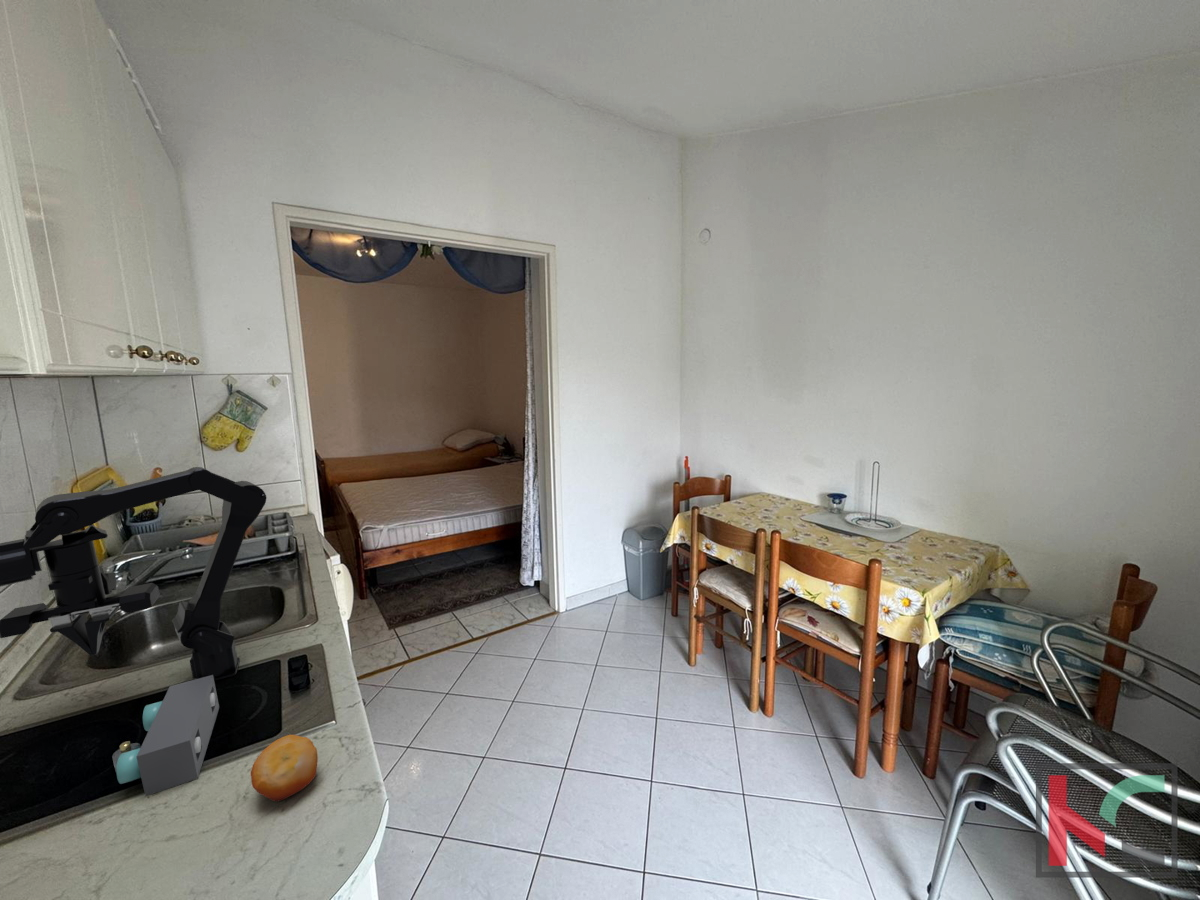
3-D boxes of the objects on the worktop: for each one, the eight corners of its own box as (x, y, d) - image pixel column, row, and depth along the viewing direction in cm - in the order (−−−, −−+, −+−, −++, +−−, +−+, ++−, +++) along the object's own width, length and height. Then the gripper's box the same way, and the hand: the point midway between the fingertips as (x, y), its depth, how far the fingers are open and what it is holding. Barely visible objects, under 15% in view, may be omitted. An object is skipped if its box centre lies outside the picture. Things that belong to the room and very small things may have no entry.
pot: (146, 753, 80) (141, 733, 79) (140, 767, 77) (135, 746, 76) (119, 762, 78) (114, 741, 77) (112, 776, 75) (107, 755, 75)
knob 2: (204, 747, 79) (199, 724, 78) (198, 764, 75) (193, 741, 74) (129, 770, 74) (124, 747, 74) (120, 790, 71) (114, 766, 70)
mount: (219, 707, 90) (213, 674, 89) (197, 778, 74) (189, 740, 73) (176, 719, 87) (169, 686, 86) (145, 796, 72) (136, 756, 70)
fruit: (306, 742, 79) (308, 716, 75) (323, 789, 75) (325, 765, 71) (245, 772, 73) (243, 746, 69) (259, 825, 69) (258, 801, 65)
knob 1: (217, 702, 89) (213, 682, 88) (213, 716, 85) (209, 695, 85) (153, 721, 85) (148, 700, 84) (145, 736, 81) (141, 714, 81)
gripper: (159, 543, 95) (175, 618, 98) (20, 565, 86) (41, 647, 89) (141, 563, 86) (158, 646, 88) (-17, 590, 77) (8, 681, 80)
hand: (94, 653), depth 87 cm, fingers closed
